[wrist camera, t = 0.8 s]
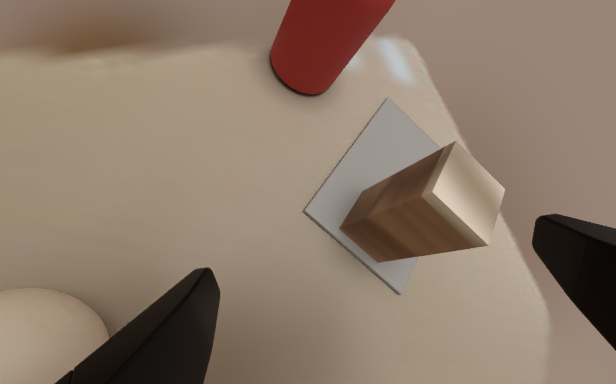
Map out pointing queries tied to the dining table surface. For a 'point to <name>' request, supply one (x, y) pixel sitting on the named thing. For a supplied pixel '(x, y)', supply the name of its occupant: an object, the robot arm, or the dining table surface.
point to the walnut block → (427, 208)
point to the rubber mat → (371, 182)
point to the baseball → (45, 335)
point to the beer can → (322, 39)
